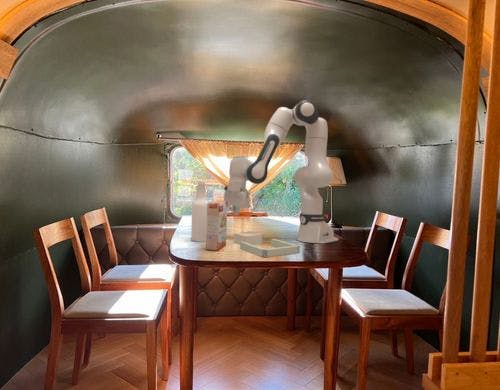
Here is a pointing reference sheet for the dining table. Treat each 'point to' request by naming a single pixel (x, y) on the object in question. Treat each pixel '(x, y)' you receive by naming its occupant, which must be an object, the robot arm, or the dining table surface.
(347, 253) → the dining table surface
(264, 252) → the u-shaped frame
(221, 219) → the cracker box
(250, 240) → the carton
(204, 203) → the alcohol
